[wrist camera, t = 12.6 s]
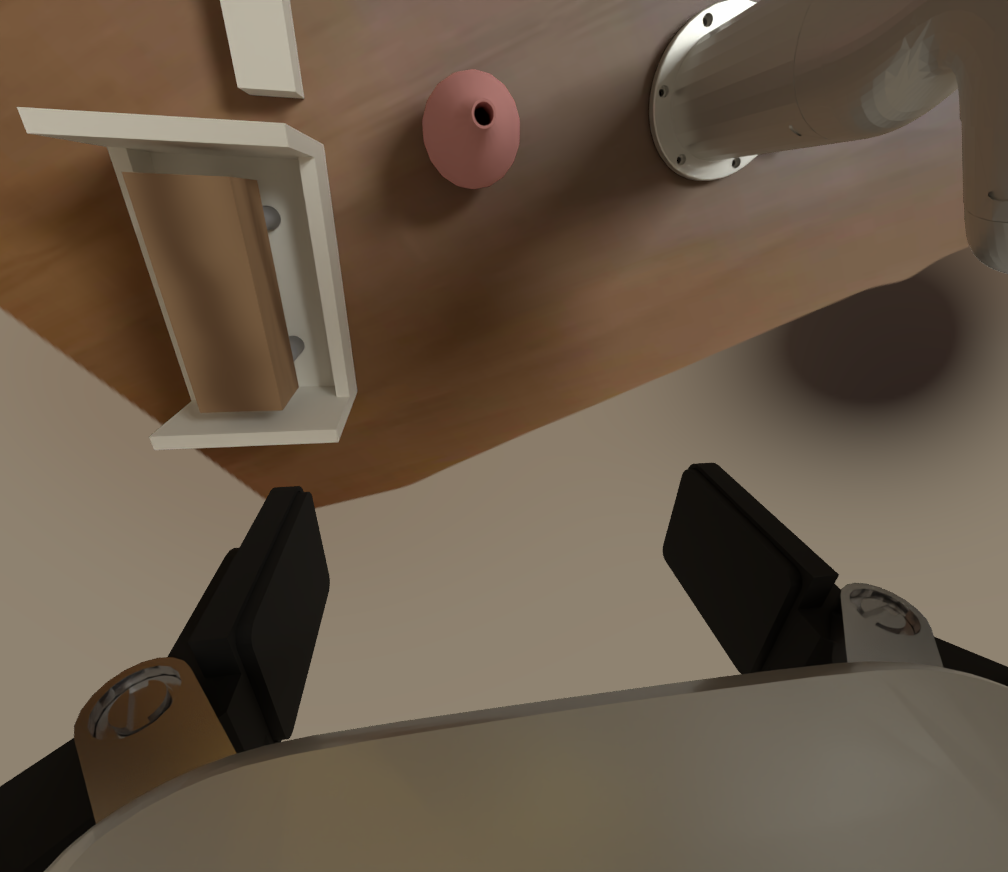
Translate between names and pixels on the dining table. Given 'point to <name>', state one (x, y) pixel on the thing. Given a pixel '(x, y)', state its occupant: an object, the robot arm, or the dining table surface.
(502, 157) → the pink vase
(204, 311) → the brown wooden block
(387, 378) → the dining table surface
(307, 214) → the stand
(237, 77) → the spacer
